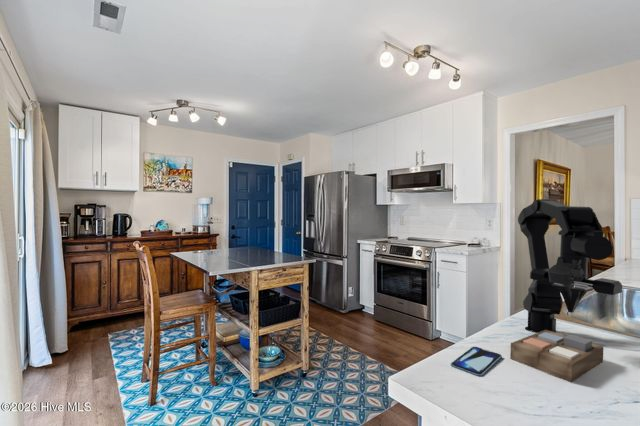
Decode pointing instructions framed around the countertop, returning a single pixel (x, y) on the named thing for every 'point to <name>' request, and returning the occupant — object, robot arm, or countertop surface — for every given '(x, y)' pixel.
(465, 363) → the smartphone
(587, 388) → the countertop surface
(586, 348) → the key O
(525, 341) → the peach block
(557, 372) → the wooden sorting tray
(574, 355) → the key
